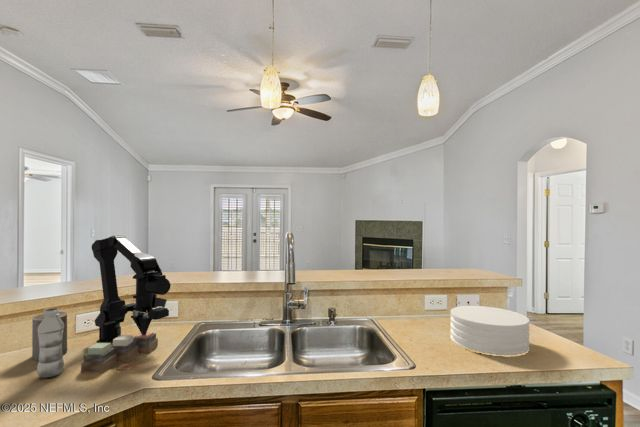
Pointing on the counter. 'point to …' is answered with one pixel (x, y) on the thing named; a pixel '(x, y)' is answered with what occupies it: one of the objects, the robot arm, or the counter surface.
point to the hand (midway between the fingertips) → (143, 334)
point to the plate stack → (490, 330)
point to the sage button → (99, 349)
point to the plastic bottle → (50, 344)
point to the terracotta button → (144, 335)
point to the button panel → (119, 355)
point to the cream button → (123, 340)
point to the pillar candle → (35, 338)
